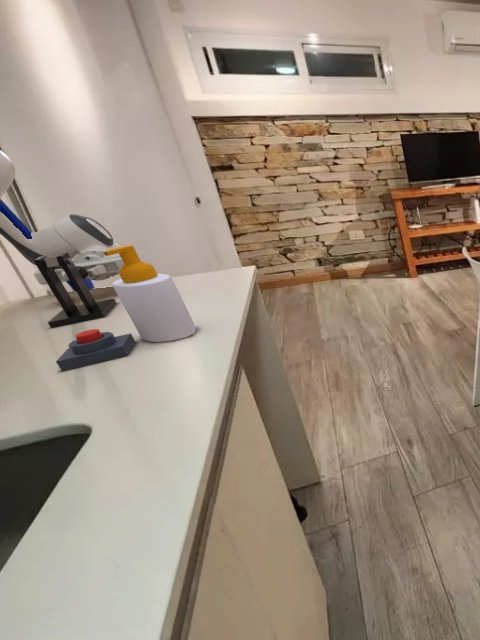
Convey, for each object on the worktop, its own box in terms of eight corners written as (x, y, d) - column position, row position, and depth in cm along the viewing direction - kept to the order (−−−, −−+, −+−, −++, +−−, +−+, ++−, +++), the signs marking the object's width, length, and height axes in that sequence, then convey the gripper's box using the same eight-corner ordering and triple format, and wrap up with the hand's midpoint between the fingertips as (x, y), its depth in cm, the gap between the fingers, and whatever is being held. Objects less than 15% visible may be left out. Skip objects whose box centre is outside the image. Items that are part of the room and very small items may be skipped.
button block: (61, 371, 94) (50, 353, 92) (75, 356, 100) (64, 339, 98) (127, 355, 98) (117, 338, 96) (135, 342, 104) (126, 325, 103)
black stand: (67, 313, 125) (32, 255, 118) (116, 303, 130) (85, 247, 123) (50, 328, 116) (11, 266, 109) (104, 317, 120) (69, 257, 113)
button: (77, 346, 95) (72, 338, 94) (82, 339, 98) (78, 332, 97) (100, 341, 97) (96, 333, 96) (105, 334, 100) (101, 327, 99)
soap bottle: (129, 340, 106) (80, 251, 97) (168, 324, 113) (125, 241, 104) (170, 344, 102) (122, 253, 93) (208, 328, 109) (167, 241, 100)
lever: (75, 282, 127) (71, 269, 127) (93, 279, 129) (88, 266, 129) (44, 270, 115) (38, 256, 115) (64, 267, 116) (59, 253, 116)
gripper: (40, 261, 131) (17, 272, 120) (135, 246, 140) (121, 255, 129) (53, 283, 134) (32, 295, 123) (145, 267, 143) (133, 277, 132)
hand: (79, 275), depth 126 cm, fingers closed on lever, 3 cm apart
